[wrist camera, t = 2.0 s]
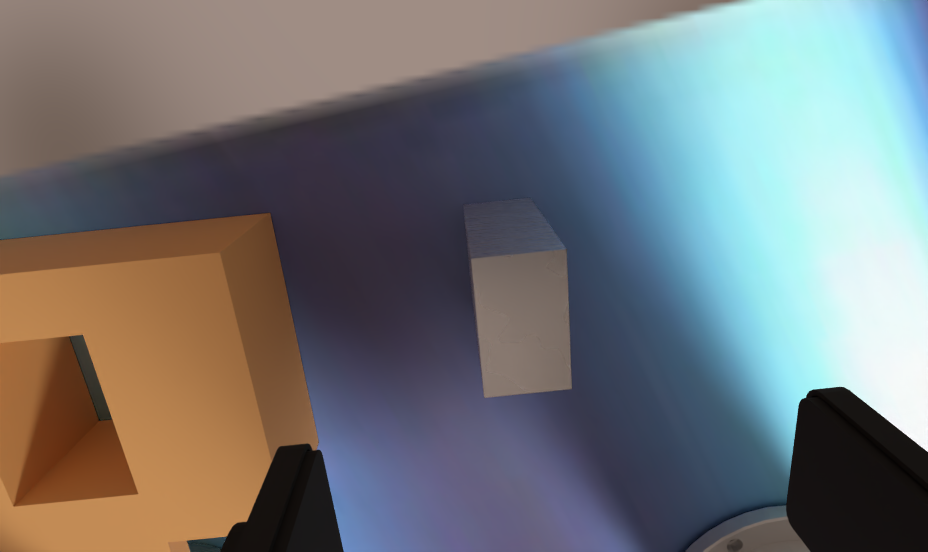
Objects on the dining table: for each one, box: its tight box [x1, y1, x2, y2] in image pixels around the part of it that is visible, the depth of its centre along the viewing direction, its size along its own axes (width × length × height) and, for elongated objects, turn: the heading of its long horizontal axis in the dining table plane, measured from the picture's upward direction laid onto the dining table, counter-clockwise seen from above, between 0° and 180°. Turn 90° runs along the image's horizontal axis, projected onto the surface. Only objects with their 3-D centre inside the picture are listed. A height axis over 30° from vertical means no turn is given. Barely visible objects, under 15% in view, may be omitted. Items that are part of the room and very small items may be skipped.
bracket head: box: [0, 213, 319, 552], centre depth 25 cm, size 22×15×6 cm
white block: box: [463, 198, 572, 398], centre depth 23 cm, size 3×5×8 cm, turn 5°
